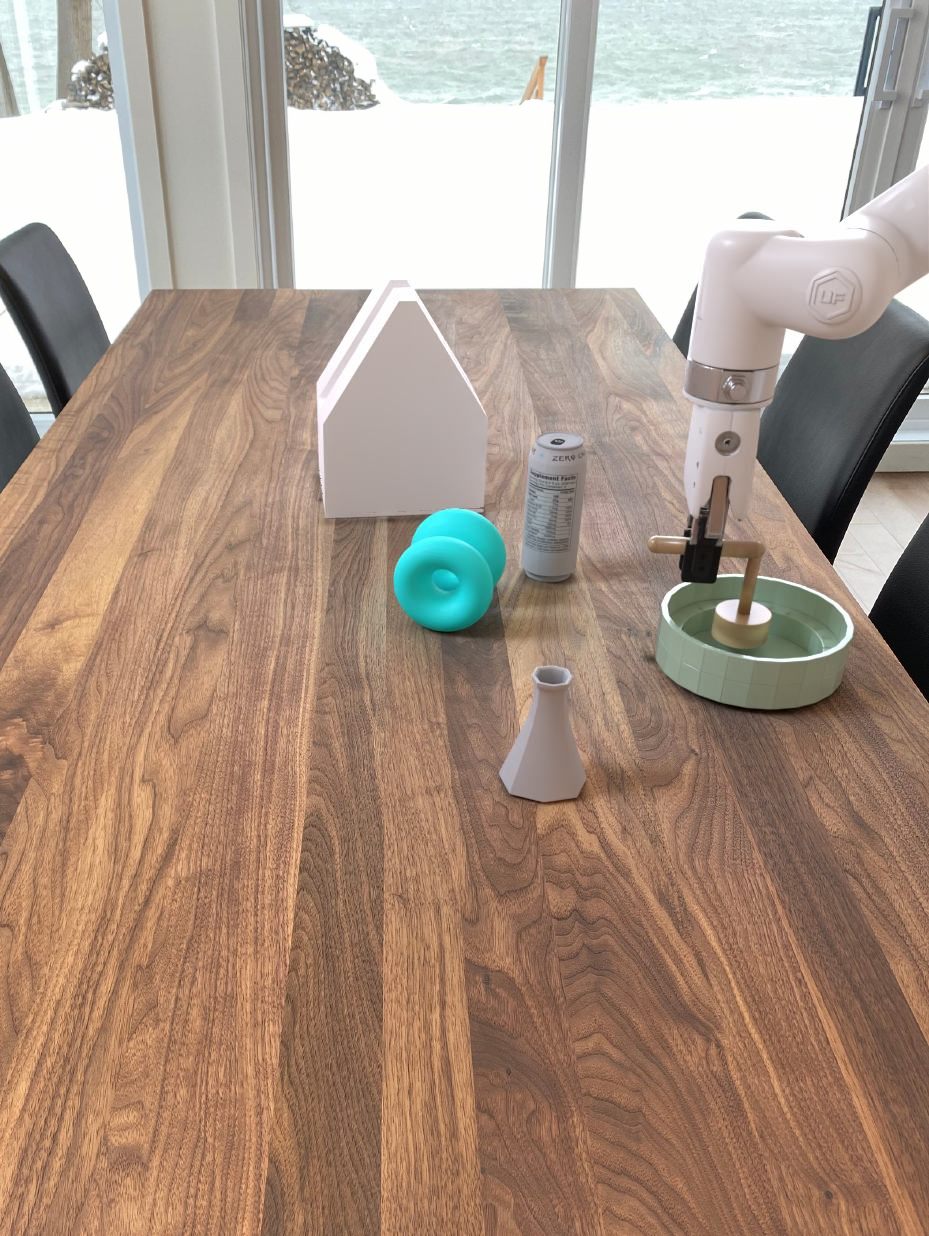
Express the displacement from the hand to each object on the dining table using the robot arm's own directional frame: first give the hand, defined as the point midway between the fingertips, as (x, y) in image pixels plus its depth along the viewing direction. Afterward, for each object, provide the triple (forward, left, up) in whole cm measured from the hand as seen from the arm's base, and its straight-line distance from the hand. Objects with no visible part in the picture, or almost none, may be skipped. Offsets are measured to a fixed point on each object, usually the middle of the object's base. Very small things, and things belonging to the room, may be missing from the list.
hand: (696, 574), depth 111 cm
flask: (+13, +23, -8) cm, 28 cm away
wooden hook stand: (-1, 0, -6) cm, 6 cm away
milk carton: (+32, -37, -8) cm, 50 cm away
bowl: (-6, +2, -8) cm, 10 cm away
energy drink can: (+13, -16, -8) cm, 22 cm away
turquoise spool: (+23, -5, -8) cm, 25 cm away
